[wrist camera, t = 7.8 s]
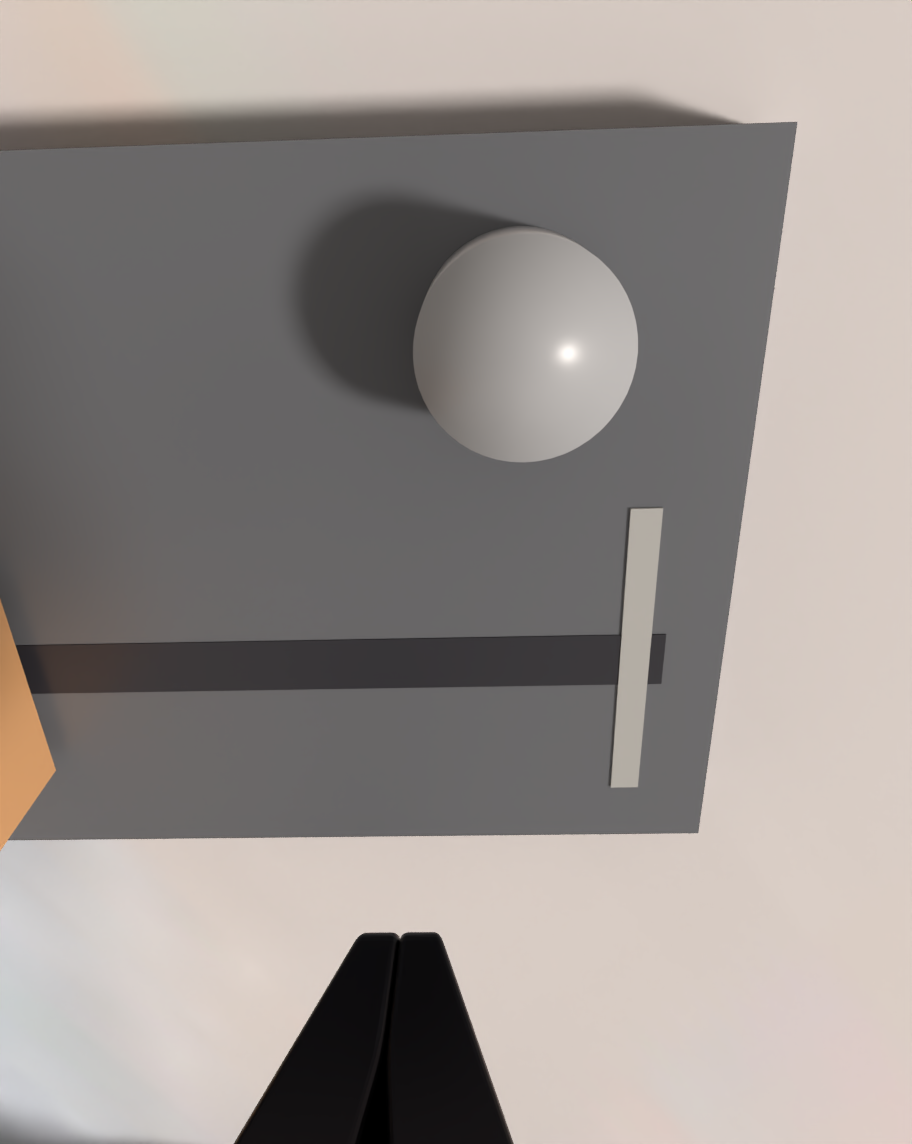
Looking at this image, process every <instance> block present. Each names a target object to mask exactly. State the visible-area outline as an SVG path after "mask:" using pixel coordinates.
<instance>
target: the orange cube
mask: <svg viewBox="0 0 912 1144" xmlns="http://www.w3.org/2000/svg"><path fill="white" fill-rule="evenodd" d="M55 771H56V769H55V766H54V763H53V759H52V756H51V753H50V750H49V747H48V744H47V741H46V738H45V735H44V732H43V729H42V726H41V723H40V720H39V716H38V713H37V710H36V707H35V704H34V701H33V698H32V695H31V692H30V689H29V686H28V683H27V680H26V676H25V673H24V670H23V667H22V664H21V661H20V658H19V655H18V652H17V649H16V646H15V643H14V640H13V636H12V633H11V630H10V627H9V624H8V621H7V618H6V615H5V612H4V609H3V606H2V603H1V600H0V850H1V849H2V848H3V846H4V845H5V843H6V842H7V840H8V839H9V837H10V836H11V835H12V833H13V832H14V830H15V829H16V827H17V826H18V824H19V823H20V822H21V820H22V819H23V817H24V816H25V814H26V813H27V811H28V810H29V809H30V807H31V806H32V804H33V803H34V801H35V800H36V798H37V797H38V796H39V794H40V793H41V791H42V790H43V788H44V787H45V785H46V784H47V783H48V781H49V780H50V778H51V777H52V775H53V774H54V773H55Z"/></svg>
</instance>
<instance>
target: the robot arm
mask: <svg viewBox="0 0 912 1144" xmlns="http://www.w3.org/2000/svg"><path fill="white" fill-rule="evenodd" d="M234 1144H514V1143H513V1141H512V1138H511V1135H510V1132H509V1129H508V1126H507V1123H506V1121H505V1118H504V1115H503V1112H502V1109H501V1106H500V1103H499V1101H498V1098H497V1095H496V1092H495V1089H494V1086H493V1083H492V1081H491V1078H490V1075H489V1072H488V1069H487V1066H486V1063H485V1061H484V1058H483V1055H482V1052H481V1049H480V1046H479V1043H478V1040H477V1038H476V1035H475V1032H474V1029H473V1026H472V1023H471V1020H470V1018H469V1015H468V1012H467V1009H466V1006H465V1003H464V1000H463V998H462V995H461V992H460V989H459V986H458V983H457V980H456V978H455V975H454V972H453V969H452V966H451V963H450V960H449V958H448V955H447V952H446V949H445V946H444V943H443V941H442V938H441V937H440V935H439V934H437V933H435V932H408V933H405V934H403V935H402V936H401V938H399V936H398V935H397V934H396V933H364V934H362V935H360V936H359V937H358V938H357V939H356V941H355V942H354V944H353V945H352V947H351V949H350V950H349V952H348V954H347V955H346V957H345V959H344V960H343V962H342V964H341V965H340V967H339V969H338V970H337V972H336V974H335V976H334V977H333V979H332V981H331V982H330V984H329V986H328V987H327V989H326V991H325V992H324V994H323V996H322V997H321V999H320V1001H319V1002H318V1004H317V1006H316V1007H315V1009H314V1011H313V1012H312V1014H311V1016H310V1017H309V1019H308V1021H307V1022H306V1024H305V1026H304V1027H303V1029H302V1031H301V1032H300V1034H299V1036H298V1037H297V1039H296V1041H295V1042H294V1044H293V1046H292V1047H291V1049H290V1051H289V1052H288V1054H287V1056H286V1057H285V1059H284V1061H283V1062H282V1064H281V1066H280V1067H279V1069H278V1071H277V1072H276V1074H275V1076H274V1077H273V1079H272V1081H271V1082H270V1084H269V1086H268V1087H267V1089H266V1091H265V1092H264V1094H263V1096H262V1097H261V1099H260V1101H259V1102H258V1104H257V1106H256V1107H255V1109H254V1111H253V1112H252V1114H251V1116H250V1117H249V1119H248V1121H247V1122H246V1124H245V1126H244V1127H243V1129H242V1131H241V1132H240V1134H239V1136H238V1138H237V1139H236V1141H235V1143H234Z"/></svg>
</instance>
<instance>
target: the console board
mask: <svg viewBox="0 0 912 1144" xmlns="http://www.w3.org/2000/svg"><path fill="white" fill-rule="evenodd" d="M796 128H797V122H781V123H753V124H725V125H697V126H670V127H642V128H614V129H586V130H558V131H531V132H503V133H475V134H447V135H419V136H392V137H364V138H336V139H308V140H281V141H253V142H225V143H197V144H169V145H142V146H114V147H86V148H58V149H30V150H3V151H0V600H1V603H2V606H3V609H4V612H5V615H6V618H7V621H8V624H9V627H10V630H11V633H12V636H13V640H14V643H15V646H16V649H17V652H18V655H19V658H20V661H21V664H22V667H23V670H24V673H25V676H26V680H27V683H28V686H29V689H30V692H31V695H32V698H33V701H34V704H35V707H36V710H37V713H38V716H39V720H40V723H41V726H42V729H43V732H44V735H45V738H46V741H47V744H48V747H49V750H50V753H51V756H52V759H53V763H54V766H55V769H56V771H55V773H54V774H53V775H52V777H51V778H50V780H49V781H48V783H47V784H46V785H45V787H44V788H43V790H42V791H41V793H40V794H39V796H38V797H37V798H36V800H35V801H34V803H33V804H32V806H31V807H30V809H29V810H28V811H27V813H26V814H25V816H24V817H23V819H22V820H21V822H20V823H19V824H18V826H17V827H16V829H15V830H14V832H13V833H12V835H11V836H10V837H9V839H8V840H77V839H173V838H270V837H366V836H462V835H559V834H655V833H698V830H699V823H700V816H701V808H702V801H703V794H704V787H705V780H706V773H707V765H708V758H709V751H710V744H711V737H712V730H713V722H714V715H715V708H716V701H717V694H718V687H719V679H720V672H721V665H722V658H723V651H724V644H725V636H726V629H727V622H728V615H729V608H730V601H731V593H732V586H733V579H734V572H735V565H736V558H737V550H738V543H739V536H740V529H741V522H742V515H743V507H744V500H745V493H746V486H747V479H748V472H749V464H750V457H751V450H752V443H753V436H754V429H755V421H756V414H757V407H758V400H759V393H760V386H761V378H762V371H763V364H764V357H765V350H766V343H767V335H768V328H769V321H770V314H771V307H772V300H773V292H774V285H775V278H776V271H777V264H778V257H779V249H780V242H781V235H782V228H783V221H784V214H785V206H786V199H787V192H788V185H789V178H790V171H791V163H792V156H793V149H794V142H795V135H796Z"/></svg>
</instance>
